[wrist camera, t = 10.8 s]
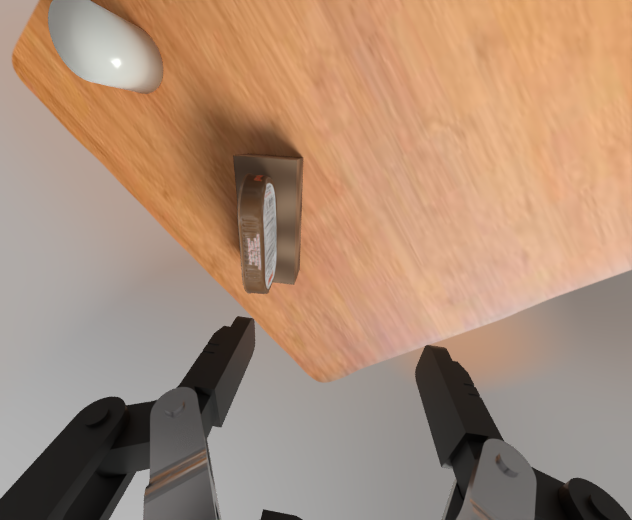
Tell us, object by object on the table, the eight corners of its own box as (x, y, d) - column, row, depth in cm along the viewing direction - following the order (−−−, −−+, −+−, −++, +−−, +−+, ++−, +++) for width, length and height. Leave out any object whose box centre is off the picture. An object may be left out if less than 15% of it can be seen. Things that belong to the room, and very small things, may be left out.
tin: (257, 169, 30) (227, 178, 22) (281, 171, 30) (260, 181, 22) (261, 272, 37) (239, 306, 29) (281, 274, 36) (264, 309, 29)
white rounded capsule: (101, 24, 29) (34, -8, 23) (154, 23, 28) (100, -9, 22) (121, 93, 32) (67, 82, 26) (169, 94, 32) (126, 82, 25)
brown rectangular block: (248, 153, 34) (233, 155, 29) (303, 157, 33) (296, 160, 29) (255, 264, 42) (244, 279, 37) (299, 269, 41) (294, 284, 37)
